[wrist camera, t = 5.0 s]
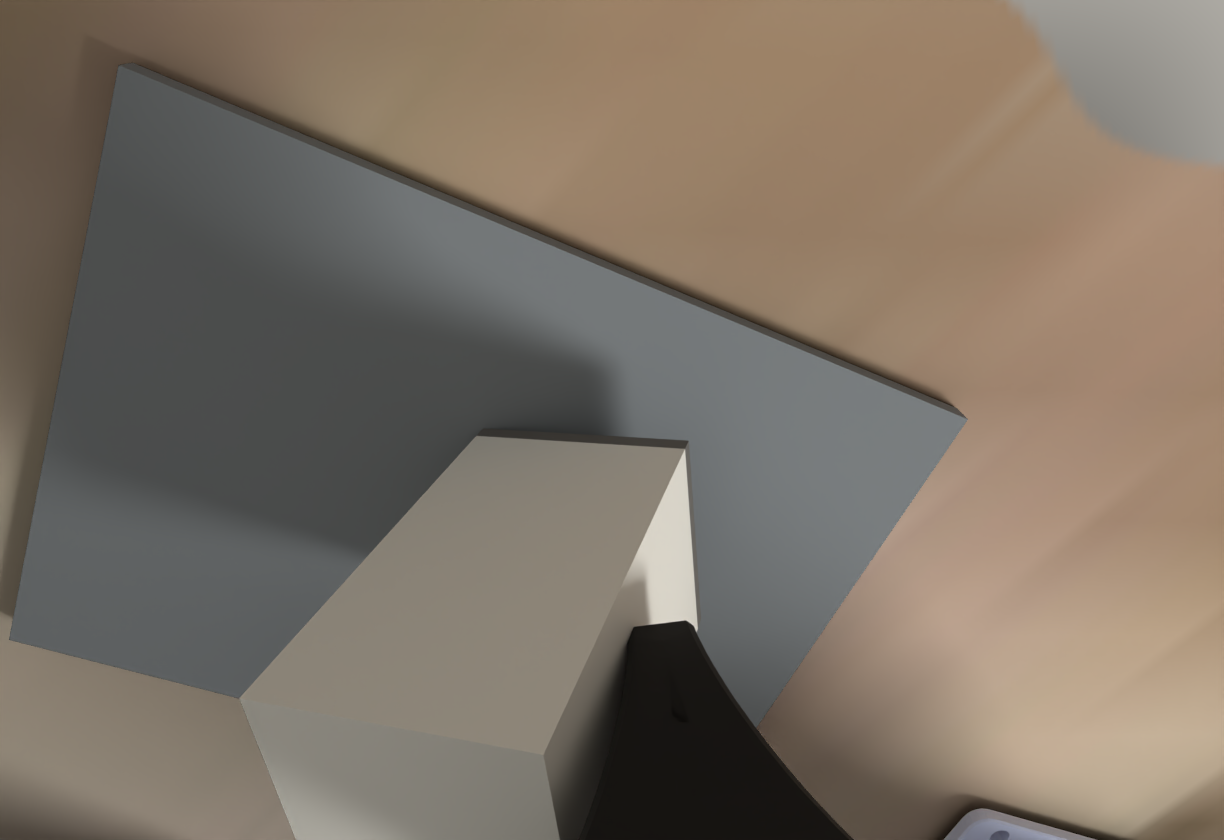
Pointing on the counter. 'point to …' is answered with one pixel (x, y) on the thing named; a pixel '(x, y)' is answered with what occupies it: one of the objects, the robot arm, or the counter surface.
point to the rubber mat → (402, 404)
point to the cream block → (483, 645)
